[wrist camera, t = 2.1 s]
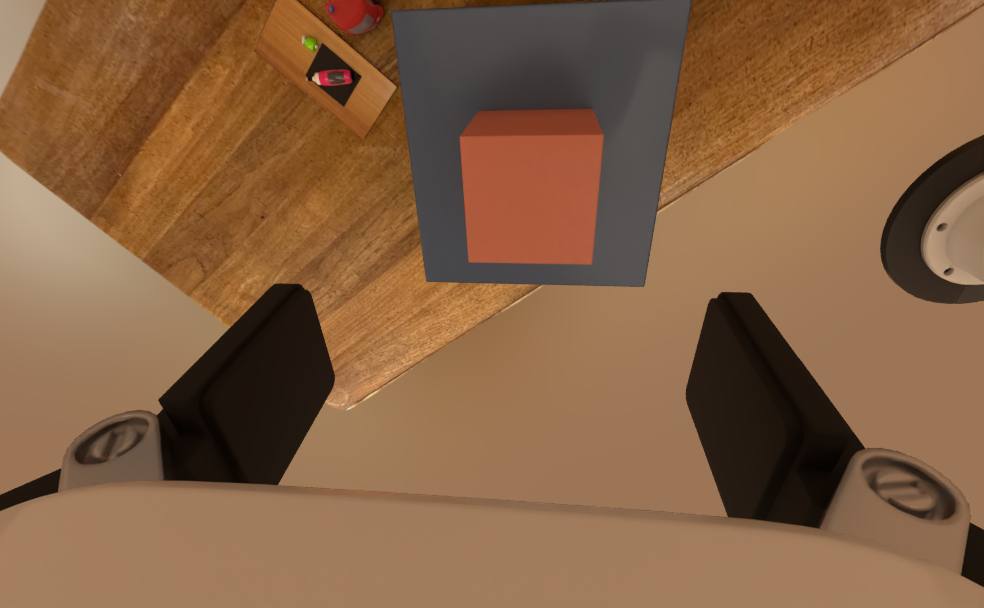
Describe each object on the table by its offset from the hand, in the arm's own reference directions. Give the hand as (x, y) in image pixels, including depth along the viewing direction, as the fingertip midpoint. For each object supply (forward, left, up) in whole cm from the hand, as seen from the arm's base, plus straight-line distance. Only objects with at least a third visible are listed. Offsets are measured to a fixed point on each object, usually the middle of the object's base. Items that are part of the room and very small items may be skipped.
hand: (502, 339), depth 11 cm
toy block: (0, 0, -15) cm, 15 cm away
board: (+20, -3, -37) cm, 42 cm away
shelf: (0, 0, -37) cm, 37 cm away
